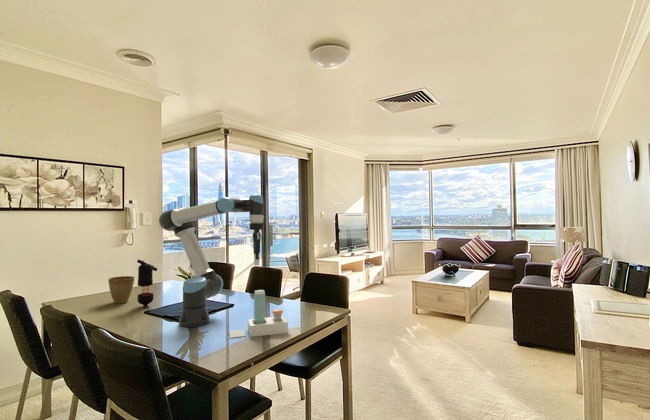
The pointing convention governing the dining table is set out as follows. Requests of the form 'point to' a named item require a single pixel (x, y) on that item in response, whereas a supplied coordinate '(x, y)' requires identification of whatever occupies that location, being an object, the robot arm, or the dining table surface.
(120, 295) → the plant pot
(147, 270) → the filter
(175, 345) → the dining table surface
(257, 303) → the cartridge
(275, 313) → the plunger
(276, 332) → the base
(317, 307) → the dining table surface
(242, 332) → the mat
